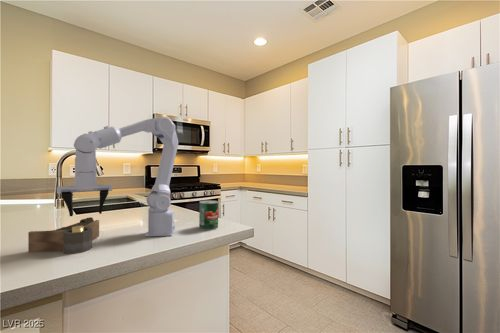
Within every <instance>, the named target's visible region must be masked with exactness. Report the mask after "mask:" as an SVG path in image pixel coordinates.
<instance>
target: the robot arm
mask: <svg viewBox="0 0 500 333" xmlns="http://www.w3.org/2000/svg"><path fill="white" fill-rule="evenodd" d="M141 132H145V133H147V134H149V133H151V134H152V135H154V136H155V137H156V138H158V139H159V140H160V142H161V143H162V144H163V148H162V152H161V156H160V160H159V165H158V169H157V173H156V176H155V177H156V178H155V182H154V185H153V186H152V188H151V191H150V192H149V194H148V195H147V198H146V203H147V205H148V206H149V208H148V210H147V211H148V212H147V213H148V214H147V215H148V217H147V218H148V220H147V221H148V225H147V228H148V229H147V230H148V231H147V232H146V234H145V235H144V237H165V236H166V237H170V236H173V234H174V232H175V230H176V228H175V227H176V224H175V222H176V221H175V216H176V215H175V210H174V209H173V210H172V209H170V206H171V203H172V200H171V189H170V183H171V178H172V174H173V169H174V166H175V159H176V157H177V156H176V155H177V152H178V146H179V139H178V135H177V134H178V133H177V131H176V124H175V123H174V122H173V121H172V119H171V118H170V117H167V116H161V117H153V118H148V119H144V120H141V121H137V122H135V123H132V124H130V125H126V126H122V127H120V128H117V127H115V126H109V125H105V126H104V127H103V128H101V129H98V130H95V131H93V130H91V131H90V130H89V131H87V133H83V134H81V135H79V136H77V137H76V138H75V140H74V143H73V148H74V149H75V152H74V154H75V155H74V156H75V158H74V185H68V186H67V185H66V186H65V185H64V186H57V187H56V194H61V195H60V196H61V198H62V200H63V201H64V203H65V205H66V207H67V208H66V209H68V210H67V211H68V212H69V213H68V214H69V217H73V216H74V209H73V208H74V207H73V195H74V194H73V193H89V192H90V193H91V192H99V205H98V206H99V207H98V211H99V212H98V214H102V212H103V206H104V205H105V202H106V199H107V198H108V196H109V192H112V191H113V184H98V183H97V179H98V178H97V174H98V173H97V157H96V156H97V155H96V154H97V153H96V150H97V149H103V148H104V149H105V148H107V147H109V146H112V145H115V144H119V143H120V142H121V141H122V138H124V137H127V136H130V135H134V134H136V133H141Z"/></svg>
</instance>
